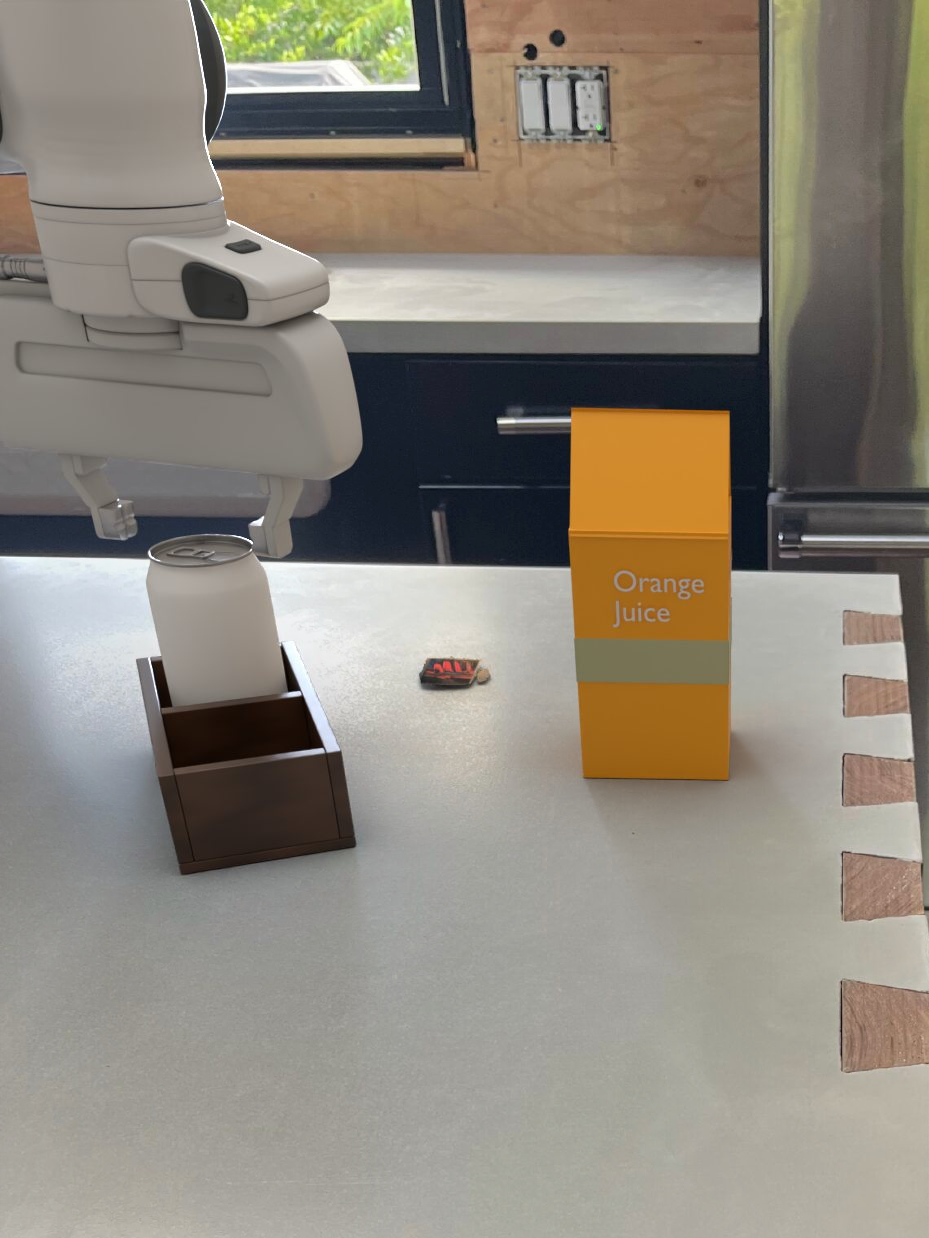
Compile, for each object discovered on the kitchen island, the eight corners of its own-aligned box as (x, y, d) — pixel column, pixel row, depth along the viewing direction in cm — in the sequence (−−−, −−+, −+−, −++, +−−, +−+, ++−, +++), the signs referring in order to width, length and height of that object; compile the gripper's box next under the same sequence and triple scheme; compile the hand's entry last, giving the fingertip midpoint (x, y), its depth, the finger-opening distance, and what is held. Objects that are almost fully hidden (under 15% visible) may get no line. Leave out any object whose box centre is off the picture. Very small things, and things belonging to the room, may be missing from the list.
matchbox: (420, 690, 99) (420, 683, 99) (417, 662, 103) (416, 655, 103) (491, 685, 100) (491, 678, 100) (485, 658, 104) (485, 651, 104)
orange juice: (729, 780, 89) (729, 427, 77) (581, 778, 89) (559, 424, 77) (732, 728, 95) (732, 395, 84) (594, 726, 95) (575, 391, 84)
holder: (180, 875, 78) (157, 776, 75) (156, 746, 91) (135, 658, 88) (356, 846, 81) (341, 751, 78) (308, 726, 94) (293, 640, 91)
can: (256, 781, 86) (216, 573, 79) (160, 764, 87) (112, 559, 80) (318, 738, 91) (285, 539, 84) (226, 723, 92) (186, 526, 85)
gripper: (-87, 259, 73) (-9, 543, 81) (295, 289, 70) (337, 583, 78) (-3, 242, 78) (62, 511, 86) (357, 270, 75) (390, 547, 83)
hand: (195, 545), depth 82 cm, fingers open, 8 cm apart
